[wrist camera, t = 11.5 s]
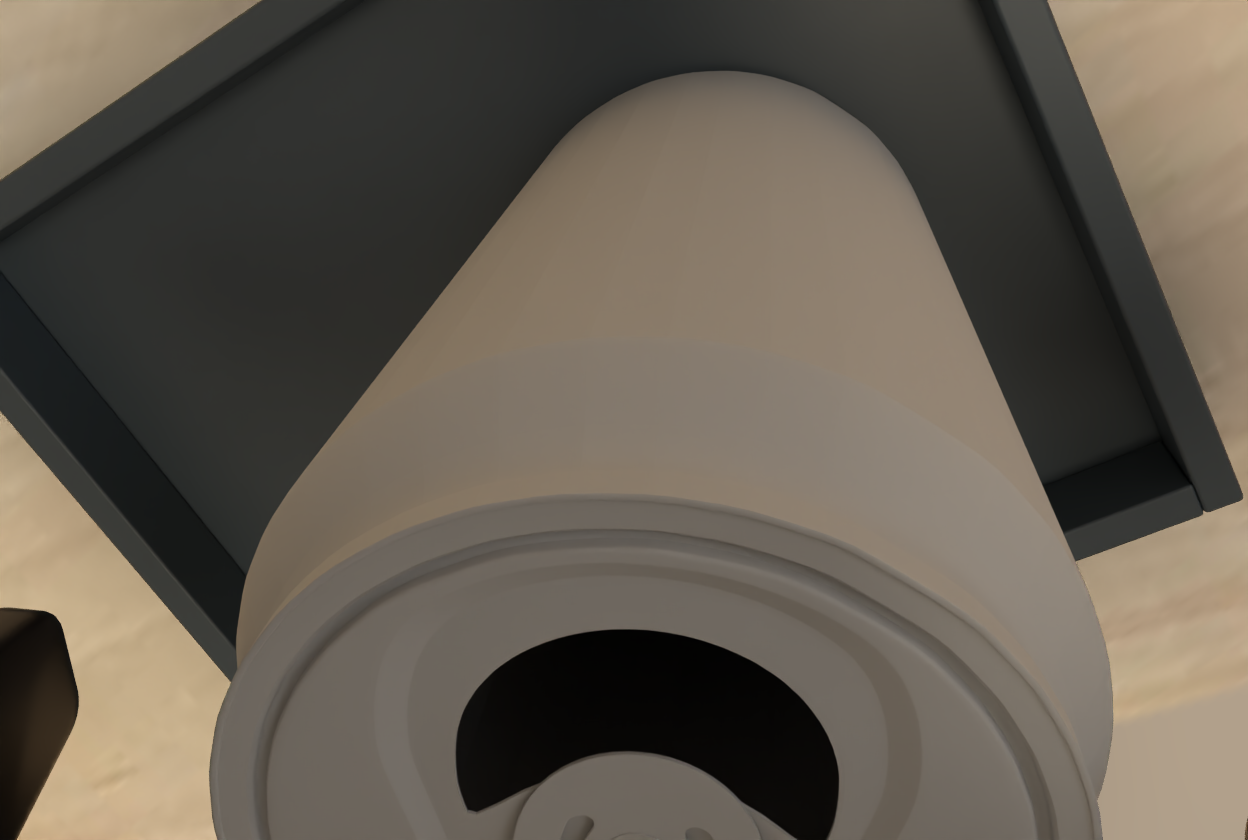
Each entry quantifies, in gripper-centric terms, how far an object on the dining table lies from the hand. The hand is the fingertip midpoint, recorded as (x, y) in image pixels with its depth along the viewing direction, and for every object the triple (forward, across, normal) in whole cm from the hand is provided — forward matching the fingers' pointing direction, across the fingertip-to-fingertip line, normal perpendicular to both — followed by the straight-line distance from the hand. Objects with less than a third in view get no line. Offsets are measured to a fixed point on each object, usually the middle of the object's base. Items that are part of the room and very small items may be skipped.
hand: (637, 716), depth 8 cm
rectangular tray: (+11, +2, +2) cm, 11 cm away
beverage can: (+11, 0, 0) cm, 11 cm away
